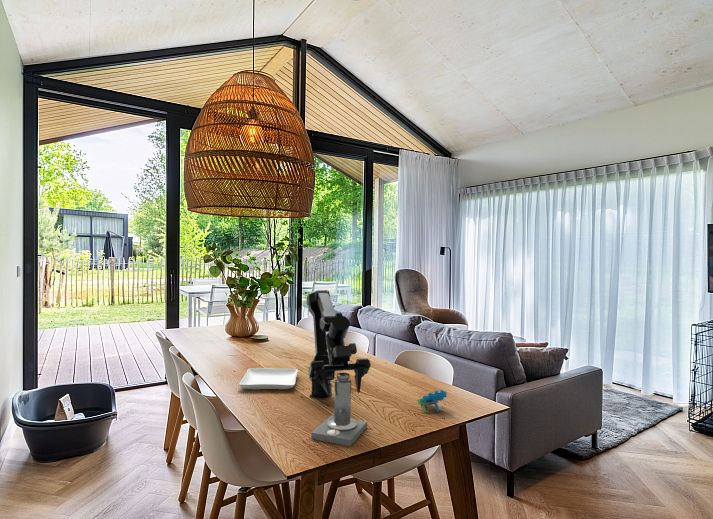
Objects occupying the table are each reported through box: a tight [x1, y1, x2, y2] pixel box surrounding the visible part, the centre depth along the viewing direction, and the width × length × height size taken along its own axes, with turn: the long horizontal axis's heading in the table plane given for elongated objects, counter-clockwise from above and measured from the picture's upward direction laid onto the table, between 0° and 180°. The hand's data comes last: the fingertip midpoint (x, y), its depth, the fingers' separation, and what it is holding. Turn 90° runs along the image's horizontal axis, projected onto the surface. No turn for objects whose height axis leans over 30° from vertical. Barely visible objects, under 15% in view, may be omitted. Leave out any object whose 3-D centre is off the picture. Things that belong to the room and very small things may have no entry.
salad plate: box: [238, 367, 299, 390], centre depth 174 cm, size 21×21×3 cm
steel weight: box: [333, 372, 352, 426], centre depth 130 cm, size 5×5×14 cm
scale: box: [310, 414, 368, 447], centre depth 129 cm, size 12×14×2 cm
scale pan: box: [327, 417, 357, 431], centre depth 130 cm, size 9×9×1 cm
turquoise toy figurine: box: [416, 389, 448, 414], centre depth 149 cm, size 11×6×10 cm
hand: (344, 393), depth 129 cm, fingers open, 9 cm apart
